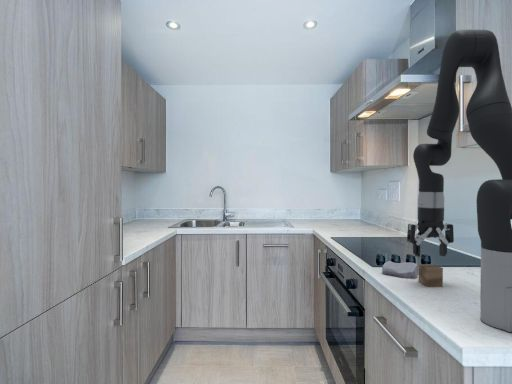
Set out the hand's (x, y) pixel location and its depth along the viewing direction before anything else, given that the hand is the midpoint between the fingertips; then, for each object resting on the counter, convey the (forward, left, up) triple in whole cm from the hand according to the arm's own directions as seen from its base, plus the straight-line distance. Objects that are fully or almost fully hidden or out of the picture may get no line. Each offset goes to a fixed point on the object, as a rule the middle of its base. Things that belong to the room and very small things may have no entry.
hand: (429, 255), depth 105 cm
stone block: (+12, +3, -10) cm, 16 cm away
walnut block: (0, 0, -9) cm, 9 cm away
